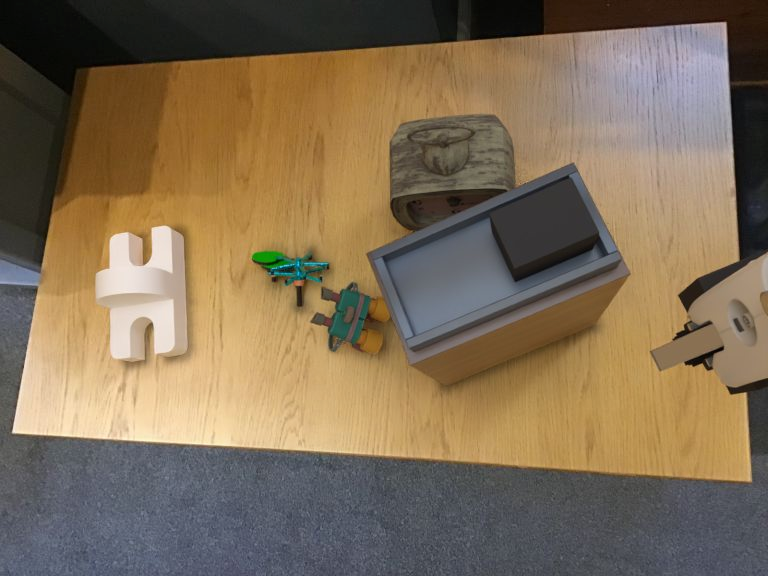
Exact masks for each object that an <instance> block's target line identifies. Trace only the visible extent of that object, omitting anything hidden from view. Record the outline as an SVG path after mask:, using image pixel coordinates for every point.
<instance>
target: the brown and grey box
mask: <svg viewBox="0 0 768 576" xmlns="http://www.w3.org/2000/svg"><path fill="white" fill-rule="evenodd" d="M569 178H572V179H573V181H574V183H575V185H576V187H577V189H578V191H579V193H580V195H581V197H582V199H583V201H584V203H585V205H586V206H587V208H588V210H589V212H590V214H591V216H592V218H593V220H594V222H595V224H596V226H597V228H598V230H599V235H598V238H597V240H596V243H595V245H594V248H593V250H591V251H588V252H586V253H584V254H581V255H579V256H577V257H574V258H572V259H570V260H567V261H565V262H562V263H560V264H558V265H555V266H553V267H551V268H548V269H546V270H544V271H541V272H539V273H536V274H534V275H532V276H529V277H527V278H525V279H522V280H520V281H518V282H514V279H513V277H512V275H511V273H510V271H509V268H508V266H507V264H506V262H505V260H504V258H503V255H502V253H501V251H500V249H499V247H498V244H497V242H496V240H495V238H494V236H493V233H492V230H491V224H490V217H489V213H491V212H493V211H495V210H498V209H500V208H502V207H505V206H507V205H509V204H511V203H514V202H516V201H518V200H521V199H523V198H525V197H527V196H530V195H532V194H534V193H537V192H539V191H541V190H544V189H546V188H548V187H550V186H553V185H555V184H557V183H560V182H562V181H564V180H566V179H569ZM365 255H366V258H367V261H368V263H369V265H370V268H371V271H372V272H373V275H374V278H375V281H376V283H377V285H378V288H379V290H380V293H381V296H382V298H384V301H385V303H386V306H387V308H388V311H389V313H390V318H391V320H392V324H393V327H394V328H395V331H396V333H397V336H398V339H399V341H400V343H401V346H402V348H403V351H404V354H405V357H406V359H407V361H408V364H409V367H412V368H414V369H416V370H417V371H420V372H421V373H423V374H424V375H427V377H430V378H432V379H433V380H435V381H437V382H438V383H440V384H442V385H443V386H445V387H447V386H450V385H452V384H454V383H456V382H459V381H462V380H463V379H466V378H469V377H471V376H474V375H476V374H478V373H481V372H483V371H486V370H488V369H491V368H493V367H496V366H498V365H501V364H503V363H505V362H508V361H510V360H513V359H515V358H517V357H520V356H522V355H525V354H528V353H530V352H532V351H534V350H537V349H540V348H542V347H544V346H547V345H550V344H552V343H555V342H557V341H559V340H562V339H564V338H567V337H569V336H571V335H574V334H576V333H579V332H581V331H583V330H586V329H588V328H591V327H594V326H596V324H597V322H598V321H599V319H601V317H602V316H603V314H604V313H605V311H606V310H607V308H608V307H609V305H610V304H611V302H612V301H613V300H614V298H616V296H617V294H618V293H619V291H620V290H621V288H622V287H623V286H624V284H625V283H626V281H627V280H628V279H629V277H630V276H631V271H630V269H629V267H628V265H627V263H626V260H625V259H624V258H623V255H622V253H621V252H620V249H619V248H618V245H617V244H616V242H615V240H614V238H613V236H612V234H611V232H610V230H609V228H608V226H607V225H606V222H605V220H604V218H603V217H602V214H601V212H600V211H599V209H598V206H597V204H596V203H595V201H594V198H593V197H592V195H591V193H590V191H589V189H588V186H587V185H586V183H585V181H584V180H583V177H582V175H581V174H580V172H579V170H578V167H577V165H576V163H575V162H571V163H568V164H566V165H563V166H561V167H559V168H557V169H555V170H553V171H550V172H548V173H545V174H544V175H540V176H539V177H536V178H534V179H532V180H529V181H528V182H525V183H523V184H521V185H518V186H516V188H514V189H511V190H509V191H507V192H505V193H502V194H500V195H498V196H495V197H493V198H491V199H489V200H486V201H484V202H482V203H479V204H477V205H475V206H473V207H470V208H468V209H466V210H464V211H461V212H459V213H457V214H454V215H452V216H450V217H448V218H445V219H443V220H441V221H438V222H436V223H434V224H432V225H429V226H427V227H425V228H423V229H420V230H418V231H412V232H411V233H409V234H407V235H404V236H402V237H400V238H398V239H395V240H393V241H391V242H389V243H387V244H384V245H382V246H380V247H377V248H375V249H373V250H371V251H367V252H366V253H365Z"/></svg>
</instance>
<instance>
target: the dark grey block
mask: <svg viewBox="0 0 768 576" xmlns="http://www.w3.org/2000/svg"><path fill="white" fill-rule="evenodd" d="M489 217H490V224H491V230H492V233H493V236H494V238H495V240H496V242H497V244H498V247H499V249H500V251H501V253H502V255H503V258H504V260H505V262H506V264H507V266H508V268H509V271H510V273H511V275H512V277H513V279H514V282H518V281H520V280H522V279H525V278H527V277H529V276H532V275H534V274H536V273H539V272H541V271H544V270H546V269H548V268H551V267H553V266H555V265H558V264H560V263H562V262H565V261H567V260H570V259H572V258H574V257H577V256H579V255H581V254H584V253H586V252H588V251H591V250H593V248H594V245H595V243H596V240H597V238H598V235H599V230H598V228H597V226H596V224H595V222H594V220H593V218H592V216H591V214H590V212H589V210H588V208H587V206H586V205H585V203H584V201H583V199H582V197H581V195H580V193H579V191H578V189H577V187H576V185H575V183H574V181H573V179H572V178H569V179H566V180H564V181H562V182H560V183H557V184H555V185H553V186H550V187H548V188H546V189H544V190H541V191H539V192H537V193H534V194H532V195H530V196H527V197H525V198H523V199H521V200H518V201H516V202H514V203H511V204H509V205H507V206H505V207H502V208H500V209H498V210H495V211H493V212H491V213H489Z"/></svg>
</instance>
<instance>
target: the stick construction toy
mask: <svg viewBox="0 0 768 576" xmlns="http://www.w3.org/2000/svg"><path fill="white" fill-rule="evenodd" d="M308 260H310V261H308ZM311 260H313V253H312V252H307V254H305V255H303V257H300V256H296V257H295V258H289V257H286V256H285V254H284V253H283V252H280V251H277V250H276V251H274V250H263V251H257V252H253V254H252V255H251V261H252V262H253V263H254V264H256V265H260V266H261V268H262V269H263V270H265V271H267V275H268V276H270V277H271V278H270V279H271V283H276V282H277V277H278V276H281V277H282V276H284V277H285V276H286V277H290V278H284V280H283V282H284V287H288V286H289V285H291V284H292V283H293V285H294V286H295V290H296V292H295V293H296V294H295V296H296V307H298V308H302V307H303V305H304V304H303V286H304V285H305V281H307V280H309V281H312V282H316V283H319V284H320V283H321V284H322V283H323V275H319V277H317V276H314V275H311V274H314V273H318V272H322V271H325V270H327V271H329V270H330V262H325V261H324V262H320V261H311ZM304 267H314V268H310V269H309V268H308V269H306V270H305V268H304ZM291 270H293V271H291Z"/></svg>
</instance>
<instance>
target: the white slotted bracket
mask: <svg viewBox="0 0 768 576" xmlns="http://www.w3.org/2000/svg"><path fill="white" fill-rule="evenodd" d="M143 240H144V239H143V238H141V237H140V236H138V235H135V234H133V233H132V232H129V231H125V232H120V233H116V234H114V235H112V236H111V237H110V239H109V268H105V269H102V270H99V271H98V272H96V273H95V278H94V281H95V283H94V285H95V286H94V287H95V290H94V292H95V294H94V295H95V299H94V301H95V304H97V306H100V307H103V308H105V309H109V323H110V324H109V339H110V341H109V342H110V343H109V346H110V347H109V348H110V349H109V351H110V356H111V357H112V358H113V359H114V360H120V361H126V362H131V363H134V362H142V361H146V346H145V344H146V342H145V341H146V339H145V338H146V337H145V332H146V329H147V327H148V326H149V325H150V324H153V346H154V347H153V348H154V349H153V350H154V355H157V356H162V357H168V358H169V357H176V356H182V355H184V354H185V353H187V351H188V347H189V344H188V343H189V342H188V341H189V340H188V316H187V315H188V313H187V287H186V261H185V237H184V236H183V234H182V233H180V232H178V231H176V230H175V229H173V228H171V227H169V226H168V225H159V226H154V227H151V256H150V259H149V261H148V262H146V263H145V264H144V247H143V244H144V243H143V242H144V241H143Z"/></svg>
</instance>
